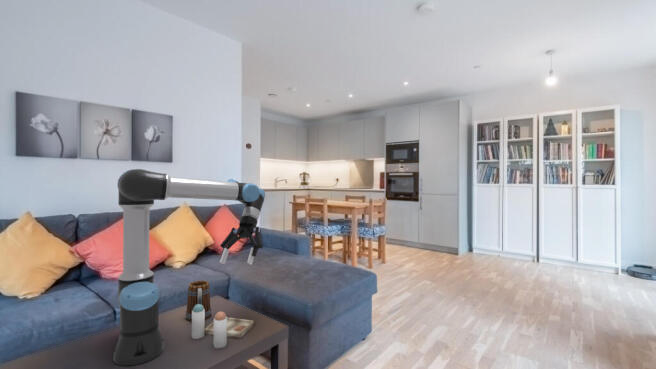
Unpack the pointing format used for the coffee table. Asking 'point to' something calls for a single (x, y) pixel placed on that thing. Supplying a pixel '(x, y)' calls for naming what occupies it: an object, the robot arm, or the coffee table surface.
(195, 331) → the tube teal
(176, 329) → the coffee table surface
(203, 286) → the mug
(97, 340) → the coffee table surface
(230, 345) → the coffee table surface
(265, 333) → the coffee table surface
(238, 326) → the tray
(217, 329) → the tube terracotta
